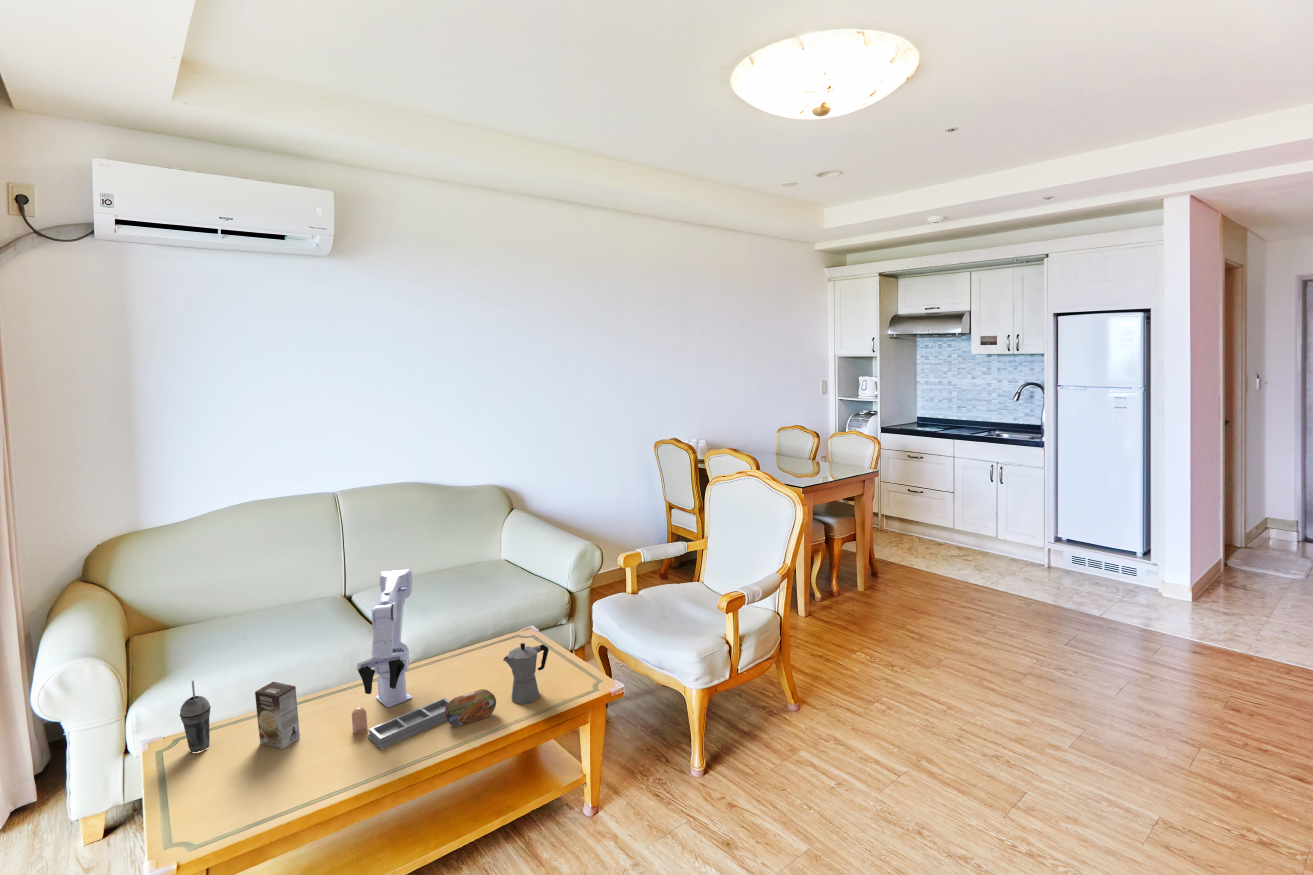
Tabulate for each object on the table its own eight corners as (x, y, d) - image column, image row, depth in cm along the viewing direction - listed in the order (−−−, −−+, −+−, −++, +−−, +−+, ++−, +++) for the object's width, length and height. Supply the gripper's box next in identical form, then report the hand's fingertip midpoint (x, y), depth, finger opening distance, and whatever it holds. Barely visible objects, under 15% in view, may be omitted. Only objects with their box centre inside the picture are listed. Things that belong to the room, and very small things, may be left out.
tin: (447, 730, 195) (445, 703, 194) (444, 725, 198) (442, 699, 197) (497, 714, 203) (495, 688, 202) (493, 710, 206) (492, 684, 205)
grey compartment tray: (368, 737, 193) (367, 727, 192) (444, 704, 210) (443, 696, 209) (381, 749, 186) (380, 739, 186) (459, 714, 204) (458, 706, 203)
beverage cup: (182, 759, 184) (173, 691, 182) (186, 746, 191) (178, 680, 188) (213, 751, 187) (205, 684, 185) (216, 739, 194) (209, 673, 192)
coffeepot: (512, 709, 206) (508, 654, 203) (500, 697, 213) (497, 644, 211) (556, 694, 215) (554, 640, 212) (543, 682, 222) (541, 631, 220)
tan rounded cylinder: (350, 730, 196) (348, 708, 196) (364, 724, 199) (362, 702, 198) (356, 735, 194) (354, 712, 193) (369, 729, 197) (368, 707, 196)
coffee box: (258, 744, 191) (252, 691, 189) (277, 732, 197) (272, 680, 195) (283, 749, 188) (277, 695, 186) (301, 737, 194) (296, 685, 192)
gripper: (352, 645, 197) (349, 693, 190) (398, 635, 196) (396, 683, 189) (365, 651, 203) (363, 697, 196) (410, 640, 202) (409, 687, 195)
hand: (380, 690), depth 193 cm, fingers open, 7 cm apart
